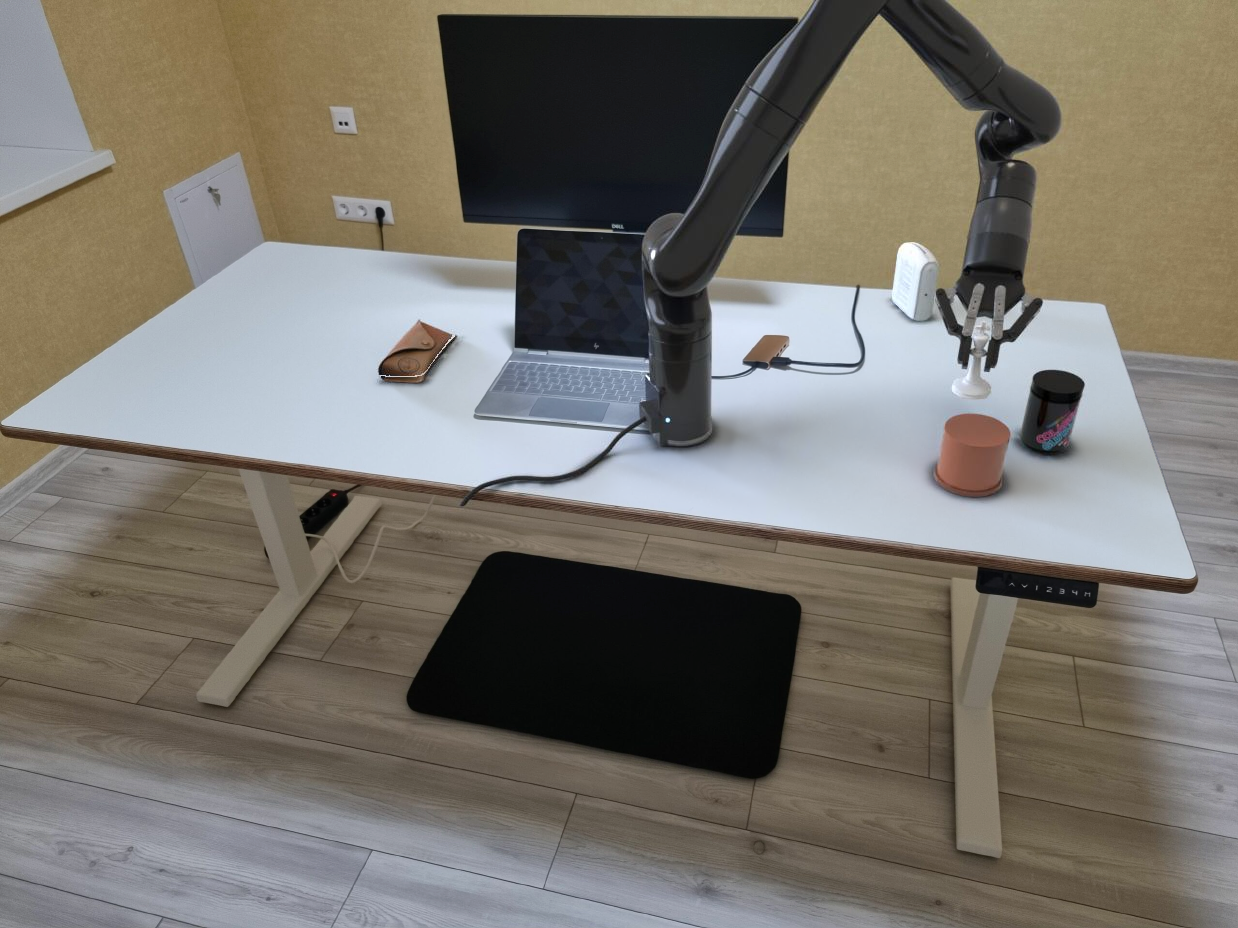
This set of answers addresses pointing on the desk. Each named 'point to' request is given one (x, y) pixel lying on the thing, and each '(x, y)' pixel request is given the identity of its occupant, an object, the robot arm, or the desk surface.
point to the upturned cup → (972, 455)
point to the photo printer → (915, 281)
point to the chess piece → (975, 370)
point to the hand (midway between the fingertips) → (976, 368)
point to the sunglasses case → (414, 354)
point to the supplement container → (1051, 411)
